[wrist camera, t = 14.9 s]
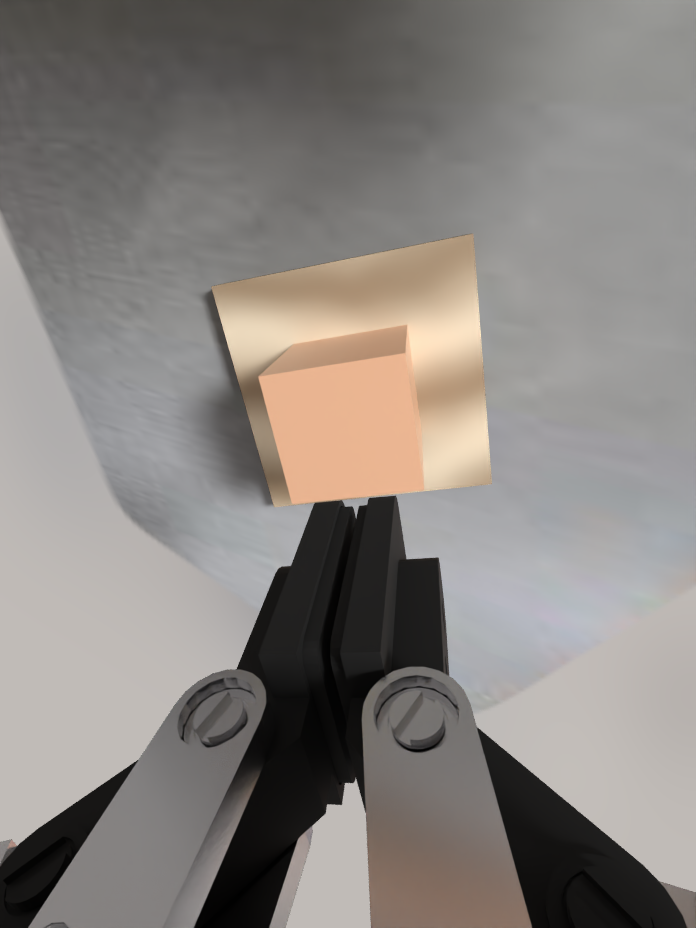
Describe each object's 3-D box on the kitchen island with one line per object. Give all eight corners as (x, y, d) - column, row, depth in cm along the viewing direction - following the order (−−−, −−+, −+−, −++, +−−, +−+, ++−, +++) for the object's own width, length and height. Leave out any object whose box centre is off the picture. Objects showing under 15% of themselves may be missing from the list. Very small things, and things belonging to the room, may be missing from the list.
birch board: (219, 284, 28) (211, 286, 26) (470, 233, 25) (473, 233, 24) (278, 498, 33) (274, 507, 32) (488, 475, 30) (491, 484, 29)
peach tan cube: (293, 344, 27) (258, 376, 21) (407, 324, 26) (405, 352, 20) (317, 447, 30) (292, 504, 24) (421, 434, 29) (424, 490, 22)
